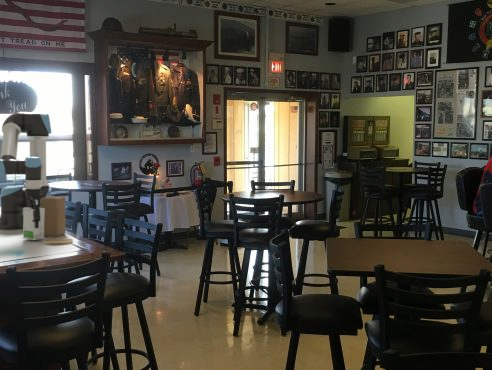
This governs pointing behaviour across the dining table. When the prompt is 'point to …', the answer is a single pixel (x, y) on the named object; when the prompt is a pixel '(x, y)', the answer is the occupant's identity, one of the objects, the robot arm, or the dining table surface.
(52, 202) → the wooden block
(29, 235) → the skincare box
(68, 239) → the cork trivet
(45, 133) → the robot arm
